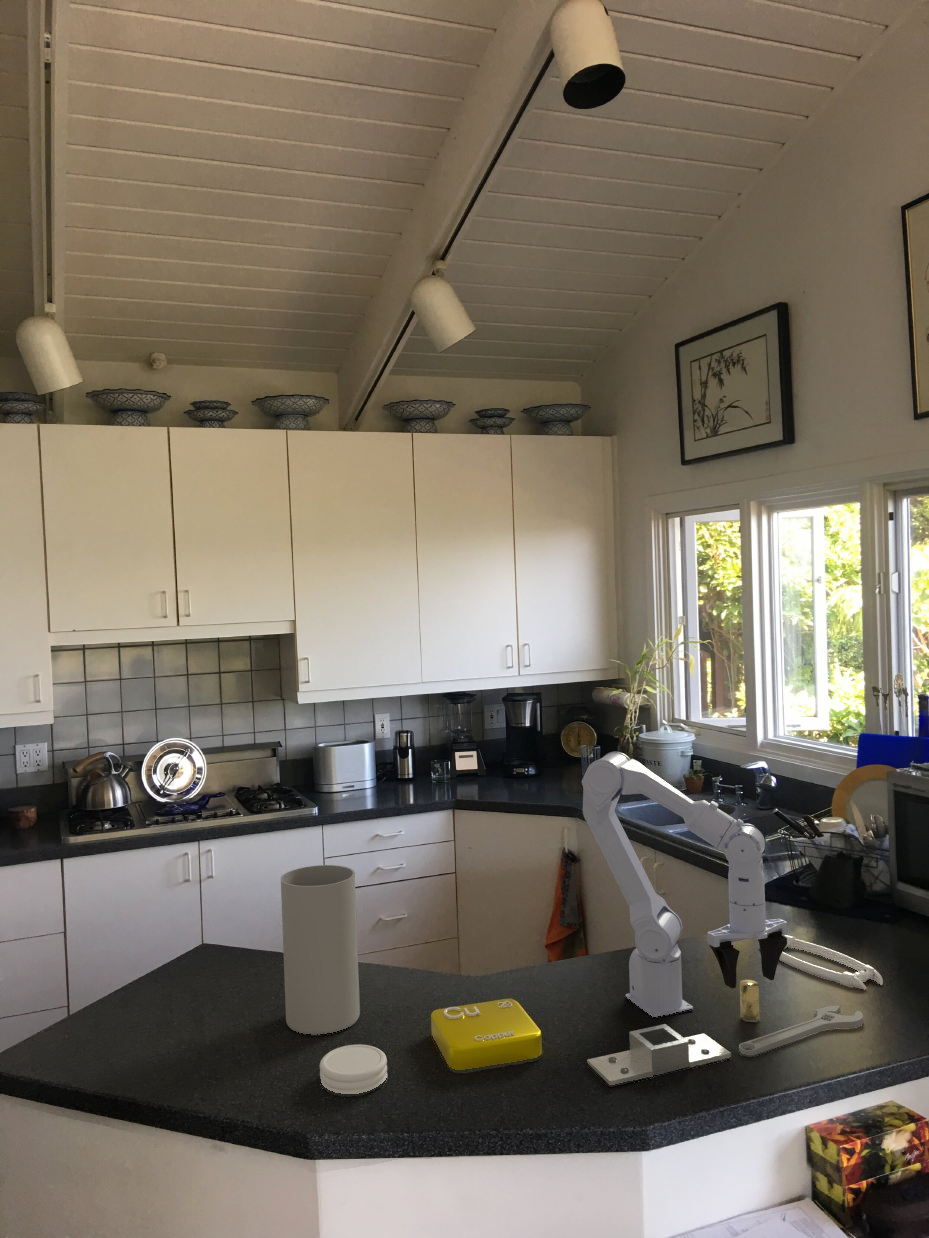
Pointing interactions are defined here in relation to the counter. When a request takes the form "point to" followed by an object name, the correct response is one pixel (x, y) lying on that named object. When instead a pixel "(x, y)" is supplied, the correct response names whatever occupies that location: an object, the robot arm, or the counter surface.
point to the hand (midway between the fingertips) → (749, 981)
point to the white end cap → (353, 1069)
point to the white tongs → (843, 978)
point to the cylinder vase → (320, 949)
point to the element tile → (485, 1034)
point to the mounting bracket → (657, 1055)
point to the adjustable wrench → (803, 1029)
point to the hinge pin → (749, 999)
